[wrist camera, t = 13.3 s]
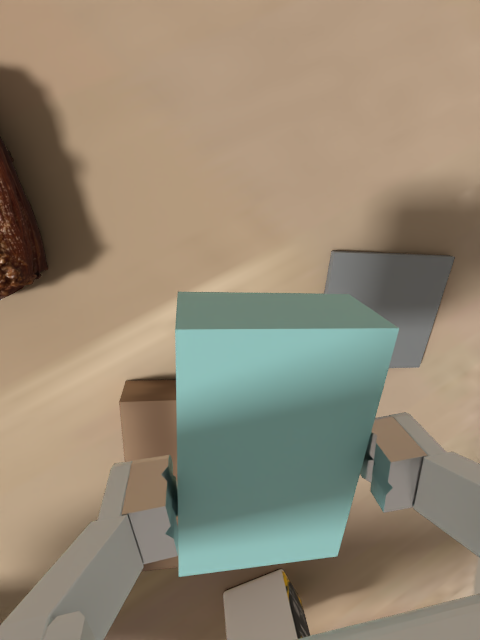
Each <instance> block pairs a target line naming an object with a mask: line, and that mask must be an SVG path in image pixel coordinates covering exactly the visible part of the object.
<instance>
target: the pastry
mask: <svg viewBox="0 0 480 640" xmlns="http://www.w3.org/2000/svg"><path fill="white" fill-rule="evenodd" d="M44 270H48V265H47V262H46V256H45V251H44V247H43V242H42V239H41V235H40V231H39V228H38V226H37V223H36V219H35V216H34V213H33V211H32V208H31V205H30V203H29V201H28V199H27V197H26V195H25V193H24V191H23V189H22V186H21V183H20V181H19V179H18V176H17V173H16V170H15V168H14V166H13V158H12V157H11V154H10V152H9V151H8V150H7V149H6V147H5V145H4V143H3V141H2V139H1V137H0V300H1V299H2V298H5V297H6V296H9V295H11V294H13V293H15V292H17V291H18V290H20V289H22V288H23V287H24V286H25V285H29V284H32V283H33V281H34V279H38V278H40V277H41V274H40V272H42V271H44Z"/></svg>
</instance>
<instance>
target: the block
mask: <svg viewBox="0 0 480 640" xmlns="http://www.w3.org/2000/svg"><path fill="white" fill-rule="evenodd" d="M398 331H399V328H398V327H397V326H395V325H394V324H392V323H391V322H389V321H388V320H386V319H385V318H383V317H382V316H381V315H379V314H378V313H376V312H375V311H373V310H372V309H370V308H369V307H367V306H366V305H364V304H363V303H361V302H360V301H358V300H357V299H355V298H354V297H352V296H351V295H350V294H303V293H228V292H178V298H177V313H176V328H175V336H176V411H177V485H178V560H179V577H182V576H190V575H198V574H205V573H213V572H221V571H228V570H236V569H244V568H251V567H259V566H267V565H274V564H282V563H290V562H298V561H305V560H313V559H321V558H328V557H336V556H338V552H339V549H340V545H341V541H342V538H343V534H344V530H345V527H346V523H347V519H348V515H349V512H350V508H351V504H352V501H353V497H354V493H355V490H356V486H357V482H358V479H359V475H360V471H361V468H362V464H363V460H364V457H365V453H366V449H367V446H368V442H369V438H370V435H371V431H372V427H373V423H374V420H375V416H376V412H377V409H378V405H379V401H380V398H381V394H382V390H383V387H384V383H385V379H386V376H387V372H388V368H389V365H390V361H391V357H392V354H393V350H394V346H395V343H396V339H397V335H398Z"/></svg>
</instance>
